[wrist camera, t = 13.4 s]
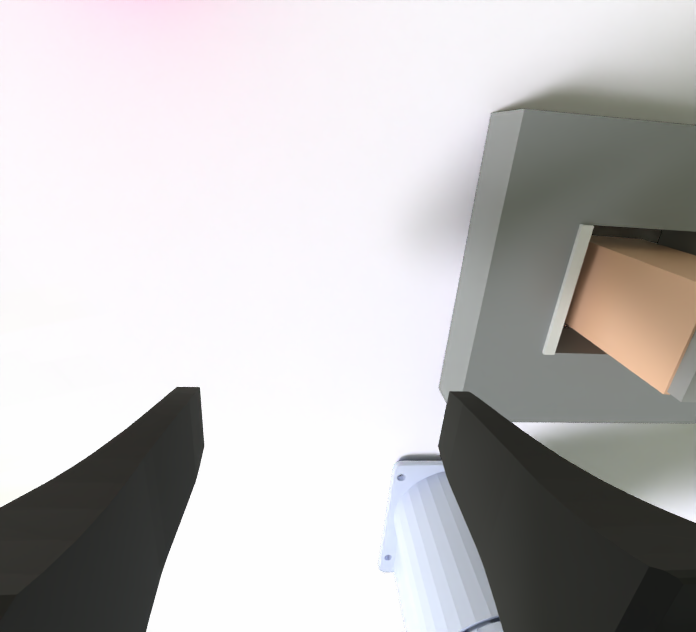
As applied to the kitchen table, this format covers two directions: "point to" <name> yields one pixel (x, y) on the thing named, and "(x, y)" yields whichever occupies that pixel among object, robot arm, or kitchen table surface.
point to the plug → (640, 310)
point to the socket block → (561, 262)
